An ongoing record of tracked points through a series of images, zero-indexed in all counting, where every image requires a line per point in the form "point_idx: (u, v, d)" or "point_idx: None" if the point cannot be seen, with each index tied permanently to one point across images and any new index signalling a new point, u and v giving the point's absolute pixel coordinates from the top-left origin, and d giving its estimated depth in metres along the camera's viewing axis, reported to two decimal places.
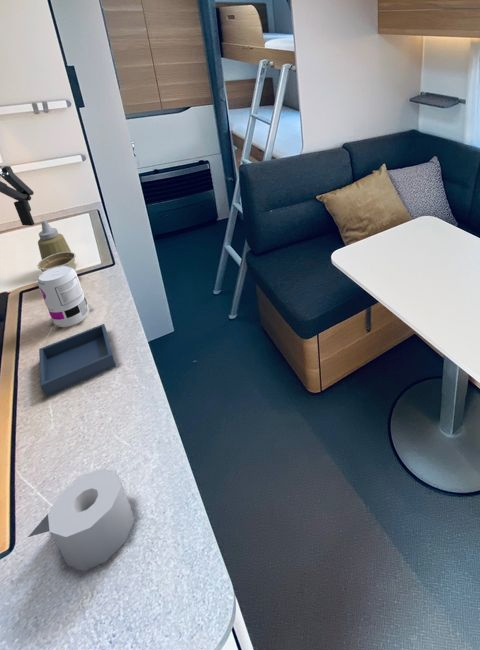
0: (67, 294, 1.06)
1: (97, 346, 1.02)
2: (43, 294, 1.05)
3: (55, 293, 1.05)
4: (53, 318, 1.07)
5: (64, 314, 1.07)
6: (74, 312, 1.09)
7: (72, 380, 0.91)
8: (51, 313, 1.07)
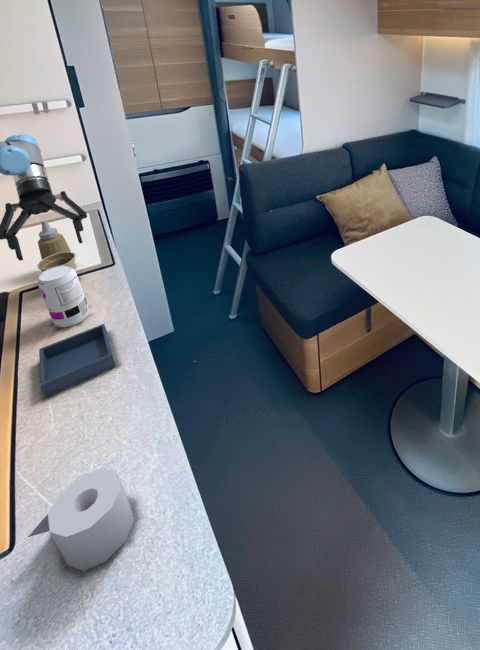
0: (67, 294, 1.06)
1: (97, 346, 1.02)
2: (43, 294, 1.05)
3: (55, 293, 1.05)
4: (53, 318, 1.07)
5: (64, 314, 1.07)
6: (74, 312, 1.09)
7: (72, 380, 0.91)
8: (51, 313, 1.07)
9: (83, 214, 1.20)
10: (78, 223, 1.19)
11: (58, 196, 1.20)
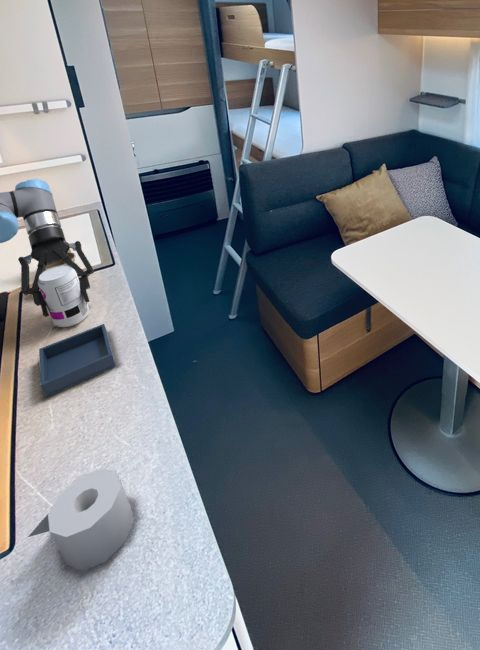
0: (67, 294, 1.06)
1: (97, 346, 1.02)
2: (43, 294, 1.05)
3: (55, 293, 1.05)
4: (53, 318, 1.07)
5: (64, 314, 1.07)
6: (74, 312, 1.09)
7: (72, 380, 0.91)
8: (51, 313, 1.07)
9: (89, 270, 1.13)
10: (84, 280, 1.12)
11: (72, 245, 1.14)
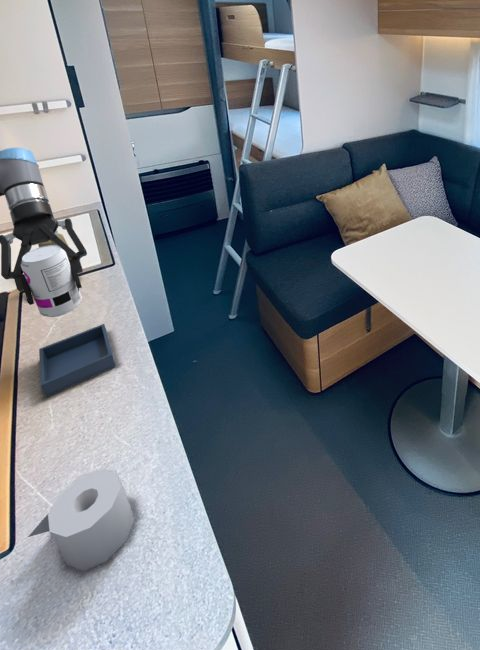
0: (56, 279, 0.91)
1: (97, 346, 1.02)
2: (27, 278, 0.89)
3: (41, 277, 0.89)
4: (39, 306, 0.92)
5: (52, 301, 0.92)
6: (63, 299, 0.93)
7: (72, 380, 0.91)
8: (37, 300, 0.92)
9: (82, 252, 0.97)
10: (76, 263, 0.96)
11: (61, 223, 0.99)
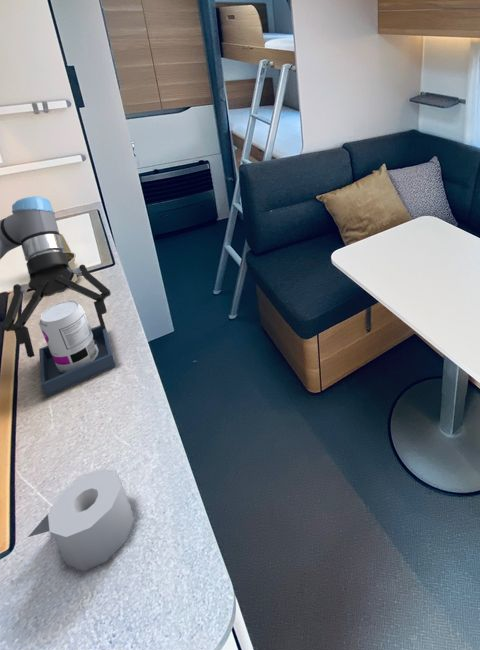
0: (74, 336, 0.92)
1: (97, 346, 1.02)
2: (45, 336, 0.90)
3: (59, 336, 0.90)
4: (57, 363, 0.93)
5: (70, 358, 0.92)
6: (81, 356, 0.94)
7: (72, 380, 0.91)
8: (55, 357, 0.92)
9: (106, 293, 0.99)
10: (100, 305, 0.98)
11: (76, 271, 0.99)
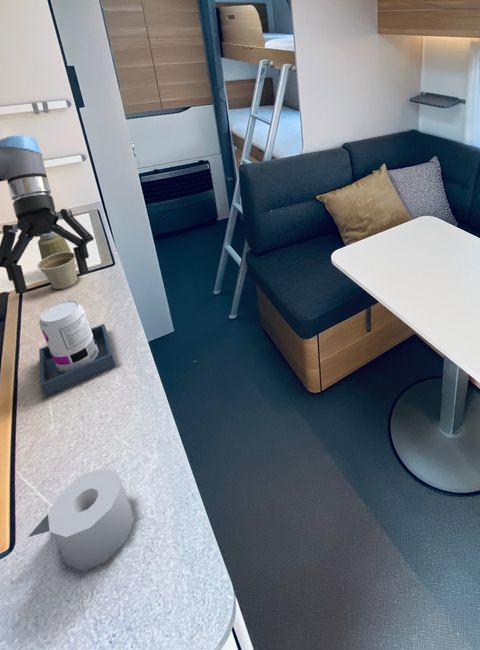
0: (74, 336, 0.92)
1: (97, 346, 1.02)
2: (46, 336, 0.90)
3: (59, 336, 0.90)
4: (57, 363, 0.93)
5: (70, 358, 0.92)
6: (81, 356, 0.94)
7: (72, 380, 0.91)
8: (55, 357, 0.92)
9: (85, 239, 0.99)
10: (81, 250, 0.99)
11: (59, 214, 0.99)
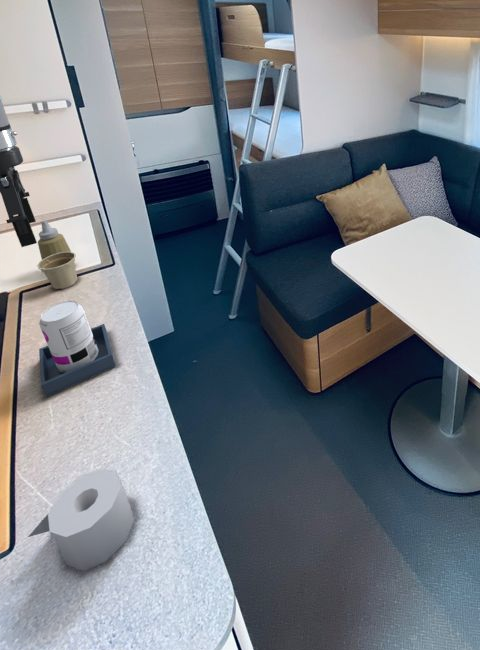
0: (74, 336, 0.92)
1: (97, 346, 1.02)
2: (46, 336, 0.90)
3: (59, 336, 0.90)
4: (57, 363, 0.93)
5: (70, 358, 0.92)
6: (81, 356, 0.94)
7: (72, 380, 0.91)
8: (55, 357, 0.92)
9: None
10: (17, 226, 0.90)
11: None
